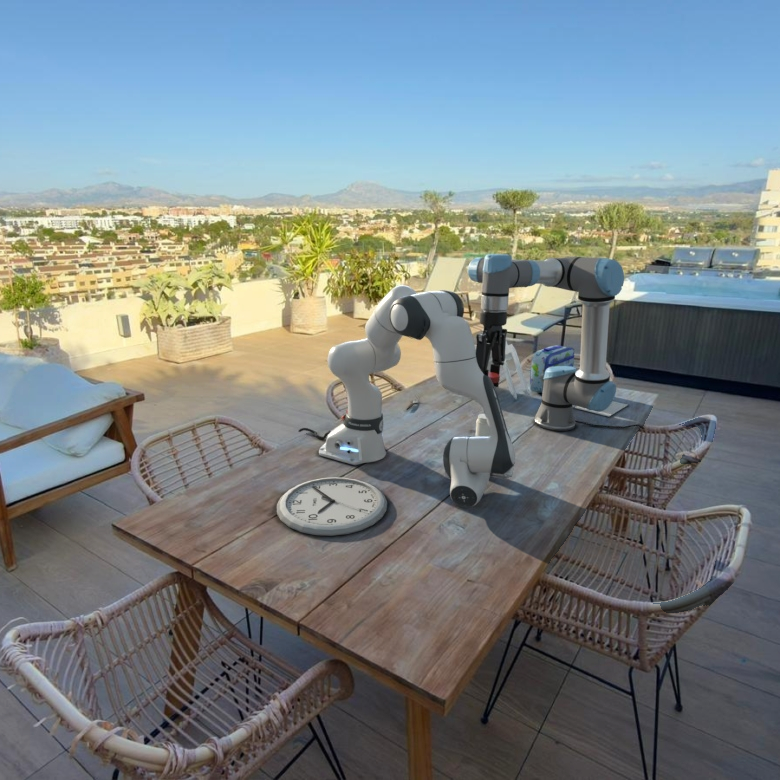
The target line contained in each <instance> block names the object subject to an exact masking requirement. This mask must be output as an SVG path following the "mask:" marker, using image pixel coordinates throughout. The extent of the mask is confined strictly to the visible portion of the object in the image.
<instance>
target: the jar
mask: <svg viewBox="0 0 780 780" xmlns="http://www.w3.org/2000/svg"><path fill="white" fill-rule="evenodd" d="M490 435H491V433H490V430H489V426H488V423H487V419H486V416H485V413H480V414H478V415H477V419H476V422H475V436H474V437H476V436H490Z"/></svg>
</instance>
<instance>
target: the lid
mask: <svg viewBox="0 0 780 780" xmlns="http://www.w3.org/2000/svg"><path fill="white" fill-rule="evenodd" d="M488 377H490V379H491V380H492V382H493V383H497V382H499V383H500V378H501V375H500V373H499V374H497V373H493V372H488Z"/></svg>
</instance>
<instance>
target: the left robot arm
mask: <svg viewBox="0 0 780 780" xmlns="http://www.w3.org/2000/svg"><path fill="white" fill-rule="evenodd" d="M464 314H465V306H464V303H463V299H462V297H460V295H458V293H456V292H454V291H451V290H445V289H444V290H443V289H442V290H431V291H423V292H419V293H418V292H417V291H416V290H415V289H413V288H412V287H410V286H408V285H405V284H401V285H397V286H394V287H393V288H392V289H391V290H389V291H388V292H387V294H385V296H384V297H383V298H382V299H381V300H380V301H379V303H378V304H377V306H376V307H375V308H374V310H373V312H372V314H371V315H370V317H369V318H368V319H367V321H366V323H365V325H364V331H365V336H366V337H365V338H363V339H358V340H349V341H345V342H341V343H339V344H336V345H333V346H332V347H331V348H330V349H329V351H328V354H327V357H326V359H327V366H328V369H329V370H330V372H331V374H333V375H334V376H335V377H336V378H338V379H339V380H340V381H341V382H342V384H343V385H344V388H345V391H346V396H347V410H346V411H345V413H343V414H342V416H341V417H340V422H342V423H340V424H339V425H338V426H336V427H334V428H332V429H329V430H328V431H327V432H325V433H324V435H323V436H322V435H319V434H318V432H317V431H315V430H313V429H311V428H308V427H302V428H300V429H298V431H297V432H298V433H301V432H303V431H306V432H310V433H312V434H314V437H315V438H317V439H320V440H325V442H324V443H323V444H322V445H321V446H320V447H319V449H318V455H319V456H321V457H324V458H328V459H330V460H331V459H332V460H335V461H338V462H342V463H345V464H349V465H352V466H357V465H362V464H366V463H374V462H377V461H380V460H382V459H384V458H385V457H386V456H387V452H386V448H385V444H384V436H383V435H384V434H383V431H384V414H383V413H382V412H383V411H382V410H383V393H382V391H381V390H380V388H379V387H378V386H377V385H375V384H373V383H371V382H370V374H374V373H380V372H384V371H387V370H390V369H392V368H393V367H396V366H397V365H398V364H399V363H400V360H401V357H402V351H401V348H400V345H399V342H400V340H401V339H402V337H409V338H412V339H415V340H417V341H422V340H423V339H424V338H426V339H428V340H429V343H430V344H431V348H432V358H433V367H434V373H435V376H436V379H437V382H438V383H439V384H440V385H441V386H442V387H443V388H444V389H445V390H446V391H449V392H450V393H453V394H456V395H459V396H462V397H465V398H467V399H471V400H472V401H475V402H476V403H478V404H479V405H480V406H481V408H482V409H483V412H484V414H485V416H486V419H487V423H488V426H489V430H490V433H491V435H490V436H476V437H475V436H470V435H469V436H453V437H451V438H450V439H449V440H448V441H447V443H446V444H445V446H444V450H443V454H442V464H443V468H444V474H445V477H446V478H447V479H450V487H449V495H450V499H451V501H452V502H453V503H454V504H455V505H457V506H458V507H460V508H461V507H462V508H472V507H474V506H476V505H477V504H478V503H479V502H480V501H481V499H482V498H483V496H484V493H485V492H486V489H487V485H488V484H489V481H490V478H496V479H502V480H506V479H509V478H512V477H513V475H514V471H515V461H516V451H515V447H514V444H513V442H512V439H511V436H510V434H509V431H508V428H507V425H506V419H505V417H504V414H503V410H502V406H501V403H500V399H499V396H498V394H497V393H498V392H497V390H496V387H494V384H493V382H492V380H491V379H490V377H488V376H486V375H484V374H483V372H482V371H481V370H480V368H479V366H478V363H477V359H476V351H475V346H476V345H475V340H474V336H473V332H472V328H471V326H470V323H469V322H468V320H467V319H465V318H464Z"/></svg>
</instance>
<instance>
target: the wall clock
mask: <svg viewBox="0 0 780 780" xmlns="http://www.w3.org/2000/svg"><path fill="white" fill-rule="evenodd" d="M387 509H388V500H387V498H386V496H385V494H384V493H383V492H382V491H381V490H380V489H379V488H377V487H376V486H374V485H372V484H371V483H369V482H365V481H362V480H359V479H355V478H349V477H338V476H337V477H335V476H333V477H332V476H331V477H322V478H317V479H312V480H307V481H305V482H302V483H299V484H297V485H295V486H293V487H292V488H290V489H288V490H287V491H286V492H285V493H284V494H283V495H281V496H280V498H279V499H278V502H277V503H276V515H277V517H278V518H279V520H280V521H281V522H282V523H283V524H285V525H286V526H287V527H288V528H290V529H293V530H295V531H297V532H299V533H303V534H308V535H312V536H327V537H328V536H329V537H331V536H332V537H333V536H342V535H350V534H352V533H356V532H361V531H363V530H366V529H368V528H369V527H372V526H373V525H375V524H376V523H378V522H379V521H380V520H381V519H382V518H383V517H384V516H385V514H386V512H387Z"/></svg>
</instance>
